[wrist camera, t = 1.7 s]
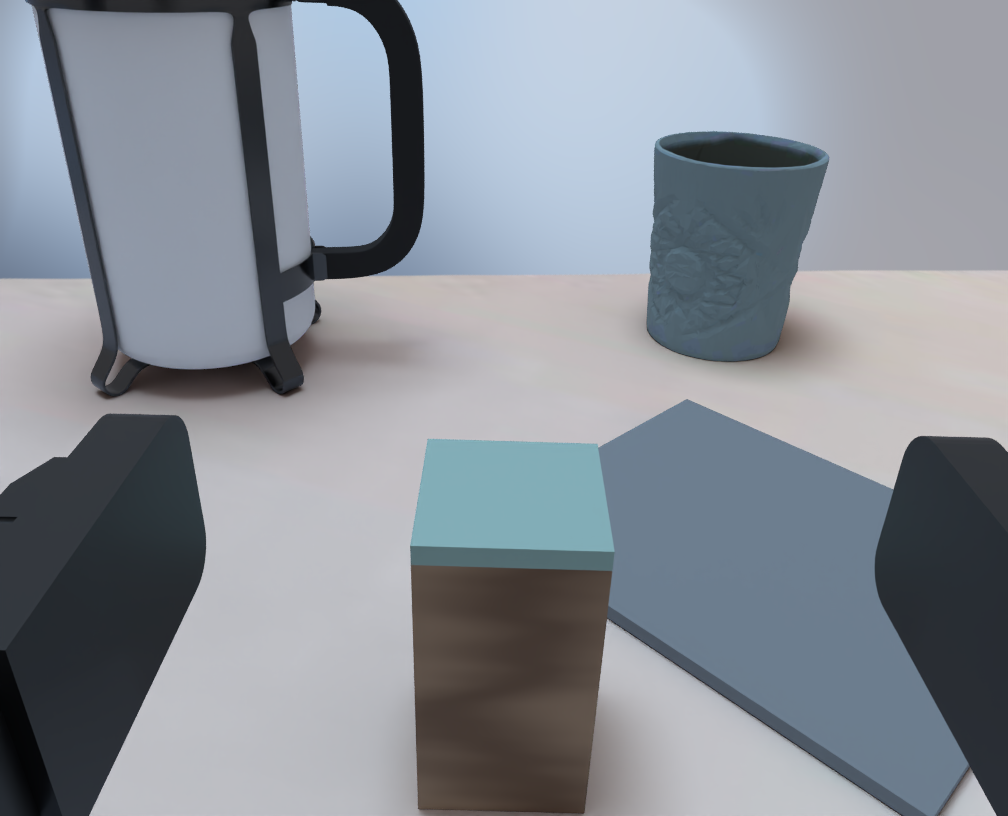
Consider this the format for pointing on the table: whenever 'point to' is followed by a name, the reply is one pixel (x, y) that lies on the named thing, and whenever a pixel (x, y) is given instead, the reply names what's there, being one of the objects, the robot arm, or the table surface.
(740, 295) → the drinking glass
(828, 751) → the mat
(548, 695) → the walnut block
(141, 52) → the coffee press
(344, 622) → the table surface
